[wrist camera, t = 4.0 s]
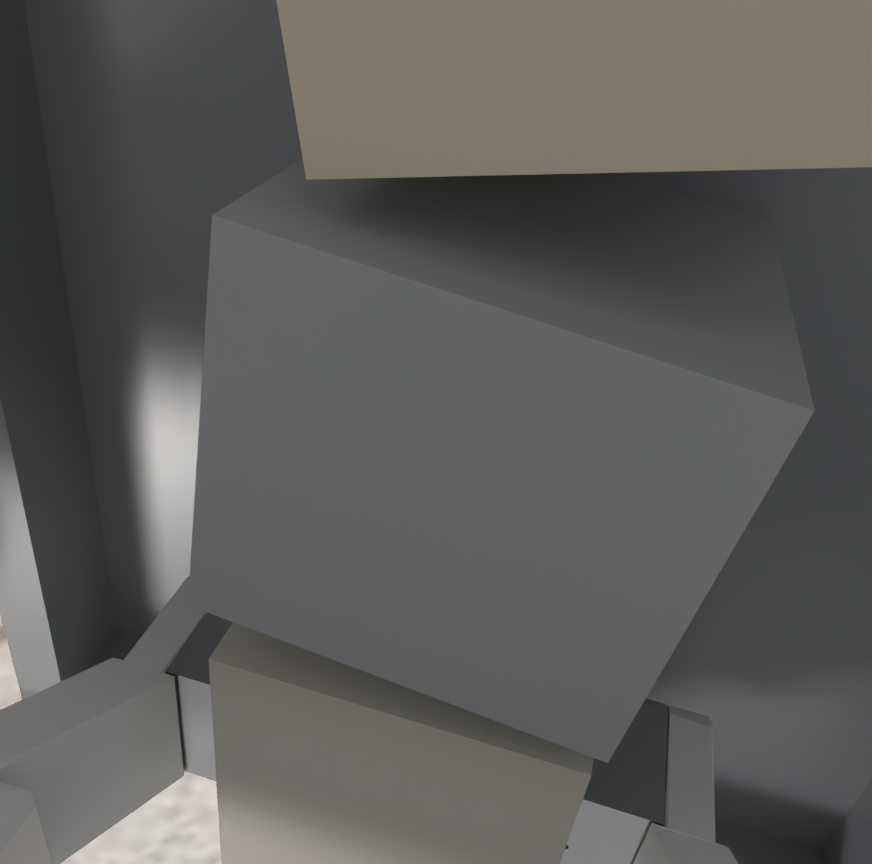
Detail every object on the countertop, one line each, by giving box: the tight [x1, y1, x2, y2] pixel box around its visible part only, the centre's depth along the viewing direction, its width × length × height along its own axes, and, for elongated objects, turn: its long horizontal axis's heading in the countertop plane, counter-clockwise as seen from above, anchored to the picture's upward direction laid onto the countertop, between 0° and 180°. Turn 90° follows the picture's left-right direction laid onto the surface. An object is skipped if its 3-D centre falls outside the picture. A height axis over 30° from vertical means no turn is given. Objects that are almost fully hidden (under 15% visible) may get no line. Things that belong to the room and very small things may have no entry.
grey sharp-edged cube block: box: [188, 158, 814, 763], centre depth 7 cm, size 4×4×4 cm
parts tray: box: [0, 0, 872, 864], centre depth 9 cm, size 13×16×2 cm
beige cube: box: [209, 622, 594, 864], centre depth 10 cm, size 4×4×4 cm
